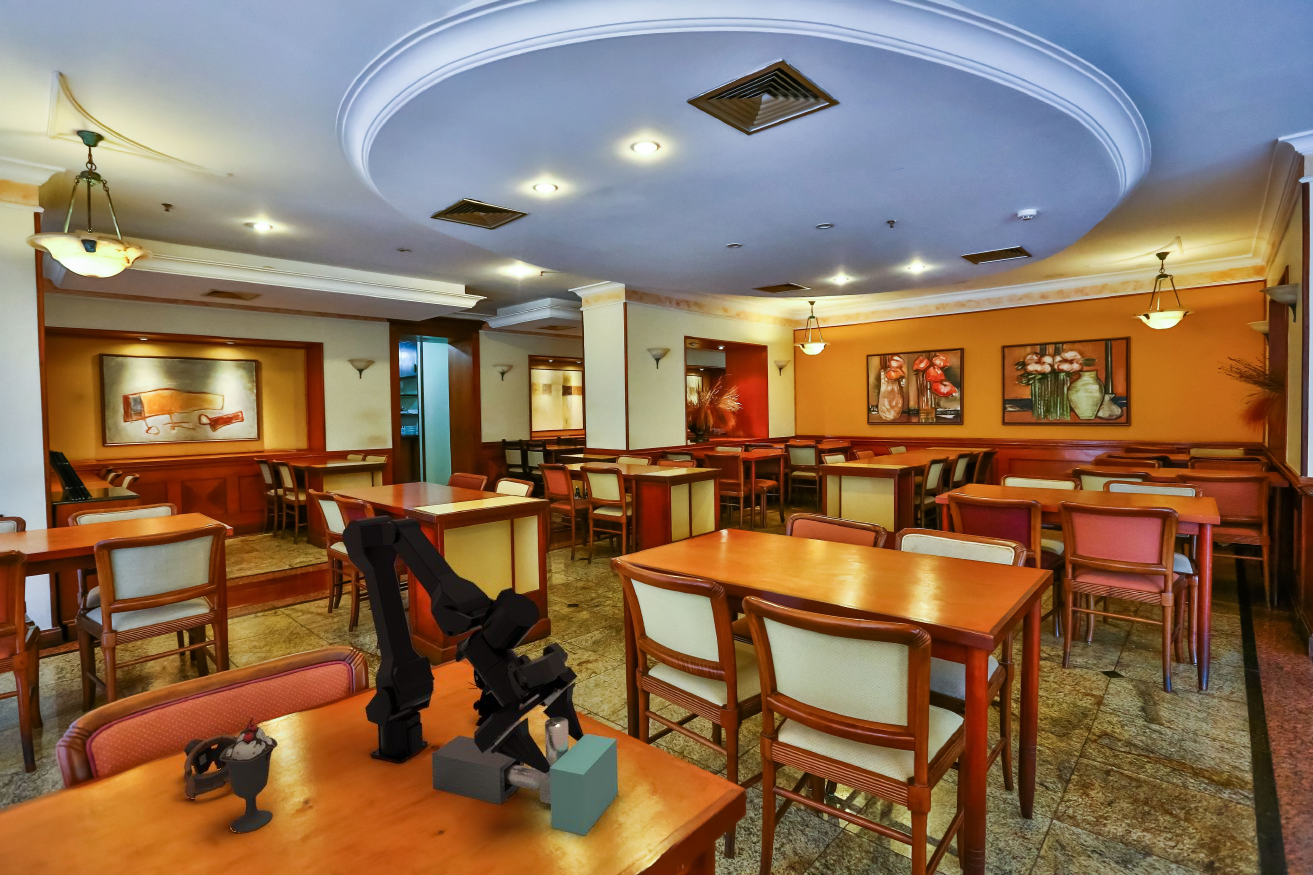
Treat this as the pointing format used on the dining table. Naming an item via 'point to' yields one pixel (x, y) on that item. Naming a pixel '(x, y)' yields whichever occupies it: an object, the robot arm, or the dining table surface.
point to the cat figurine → (484, 701)
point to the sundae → (249, 774)
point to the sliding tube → (554, 751)
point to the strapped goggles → (206, 764)
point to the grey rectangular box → (472, 771)
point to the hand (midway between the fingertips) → (566, 754)
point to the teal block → (583, 784)
